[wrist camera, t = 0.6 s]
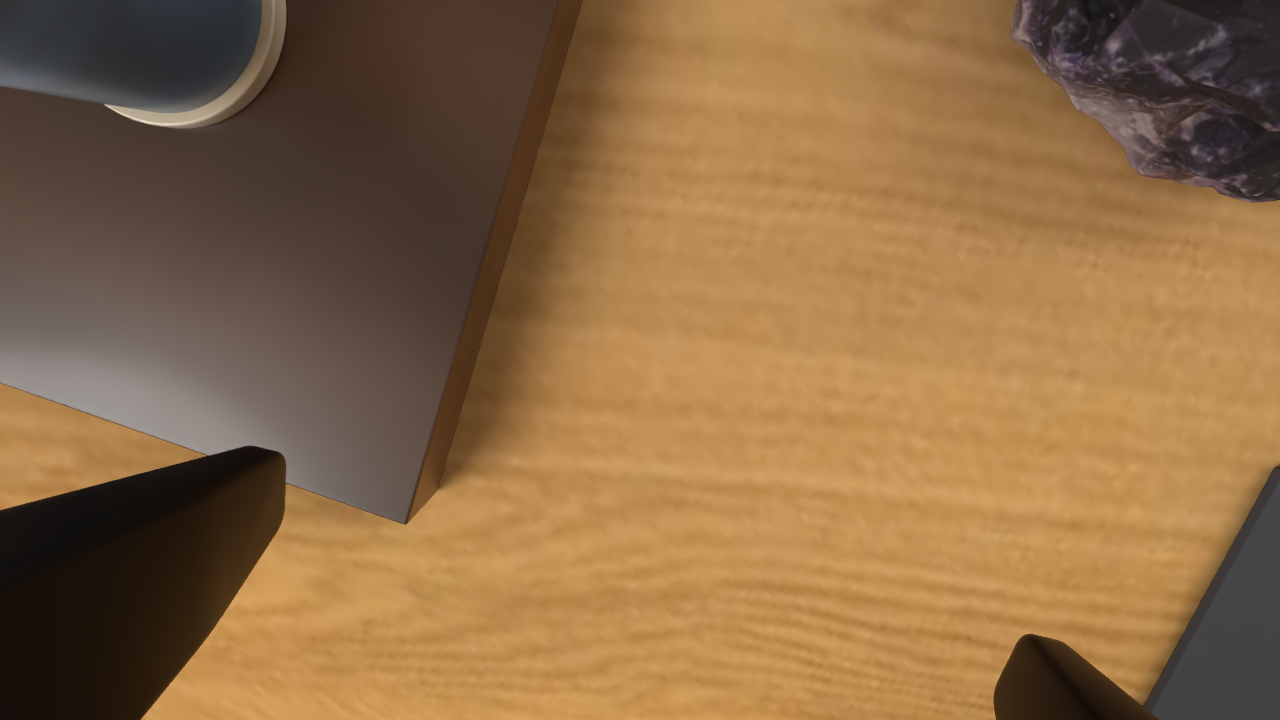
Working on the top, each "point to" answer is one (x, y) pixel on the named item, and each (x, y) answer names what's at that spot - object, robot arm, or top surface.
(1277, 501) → the felt mat
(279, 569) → the top surface
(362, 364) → the platform
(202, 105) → the spool
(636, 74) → the top surface
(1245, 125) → the crystal cluster
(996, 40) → the top surface
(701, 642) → the top surface
